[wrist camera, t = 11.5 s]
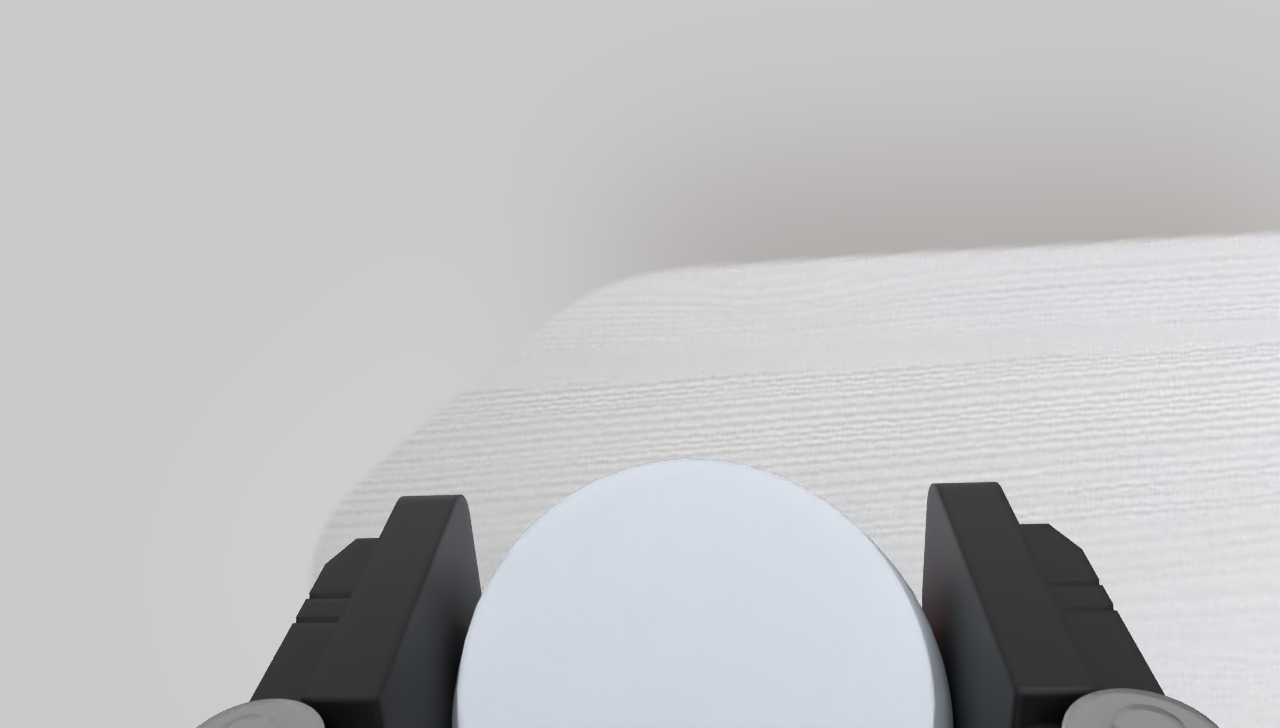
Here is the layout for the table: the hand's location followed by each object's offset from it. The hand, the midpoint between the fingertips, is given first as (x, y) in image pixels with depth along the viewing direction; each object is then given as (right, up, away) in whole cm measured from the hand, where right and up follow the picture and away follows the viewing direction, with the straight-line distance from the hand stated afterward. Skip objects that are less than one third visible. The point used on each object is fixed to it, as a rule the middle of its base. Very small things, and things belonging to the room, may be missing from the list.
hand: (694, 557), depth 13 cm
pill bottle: (+1, -4, +5) cm, 7 cm away
